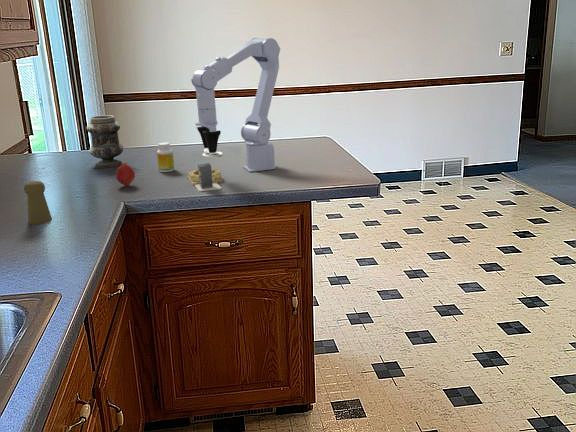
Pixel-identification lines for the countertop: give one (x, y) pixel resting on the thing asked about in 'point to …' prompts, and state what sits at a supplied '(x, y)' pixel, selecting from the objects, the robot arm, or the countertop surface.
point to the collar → (195, 175)
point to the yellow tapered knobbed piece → (37, 203)
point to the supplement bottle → (165, 157)
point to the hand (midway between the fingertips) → (210, 150)
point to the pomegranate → (125, 174)
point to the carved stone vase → (105, 140)
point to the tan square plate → (198, 182)
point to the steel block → (205, 175)
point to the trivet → (215, 187)
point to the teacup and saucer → (210, 153)
